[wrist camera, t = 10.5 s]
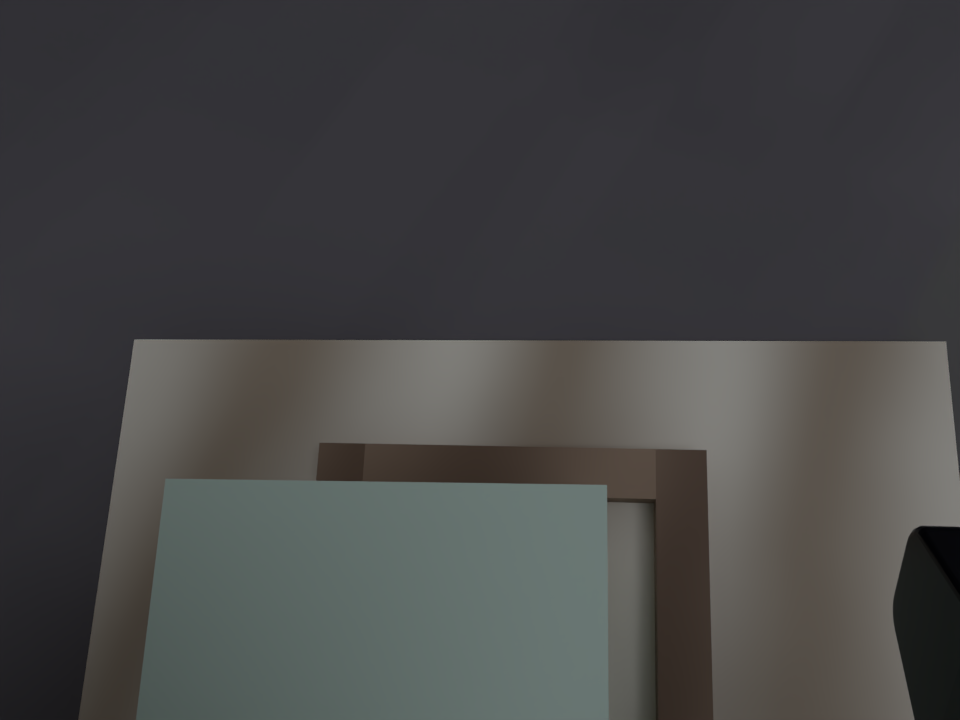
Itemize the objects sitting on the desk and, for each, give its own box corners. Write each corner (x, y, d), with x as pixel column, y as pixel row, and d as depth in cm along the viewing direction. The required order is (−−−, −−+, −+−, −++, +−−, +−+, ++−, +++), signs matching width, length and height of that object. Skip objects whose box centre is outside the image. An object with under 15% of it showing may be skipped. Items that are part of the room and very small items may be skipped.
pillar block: (602, 550, 18) (606, 485, 7) (603, 761, 17) (610, 1028, 6) (411, 545, 19) (165, 479, 8) (402, 749, 18) (104, 980, 7)
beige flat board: (931, 351, 19) (960, 330, 17) (998, 1054, 16) (1042, 1103, 14) (150, 348, 21) (116, 329, 20) (64, 954, 18) (16, 987, 17)
